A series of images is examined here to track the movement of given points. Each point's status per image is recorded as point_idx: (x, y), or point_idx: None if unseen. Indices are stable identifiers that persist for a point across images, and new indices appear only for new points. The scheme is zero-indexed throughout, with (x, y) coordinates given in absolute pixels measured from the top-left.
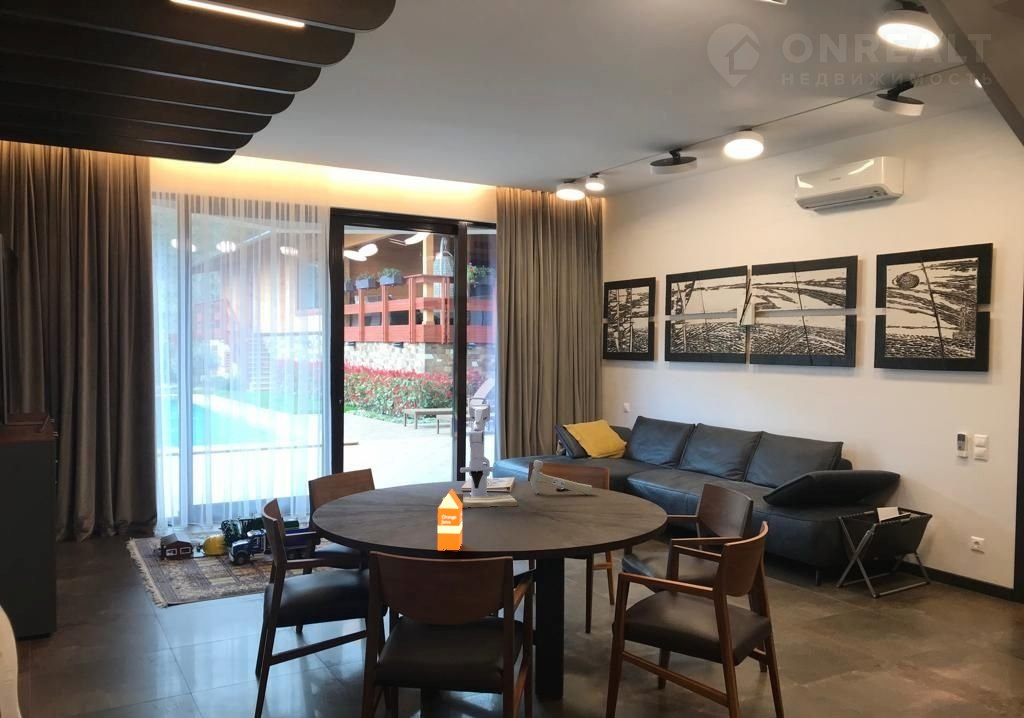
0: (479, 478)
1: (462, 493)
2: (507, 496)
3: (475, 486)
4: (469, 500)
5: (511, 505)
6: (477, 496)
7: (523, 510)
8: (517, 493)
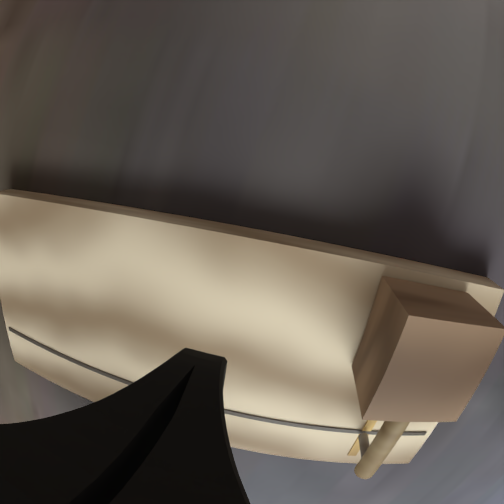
0: (87, 428)
1: (408, 333)
2: (23, 342)
3: (220, 369)
4: (285, 351)
5: (28, 192)
6: None
7: (22, 62)
8: (20, 418)
